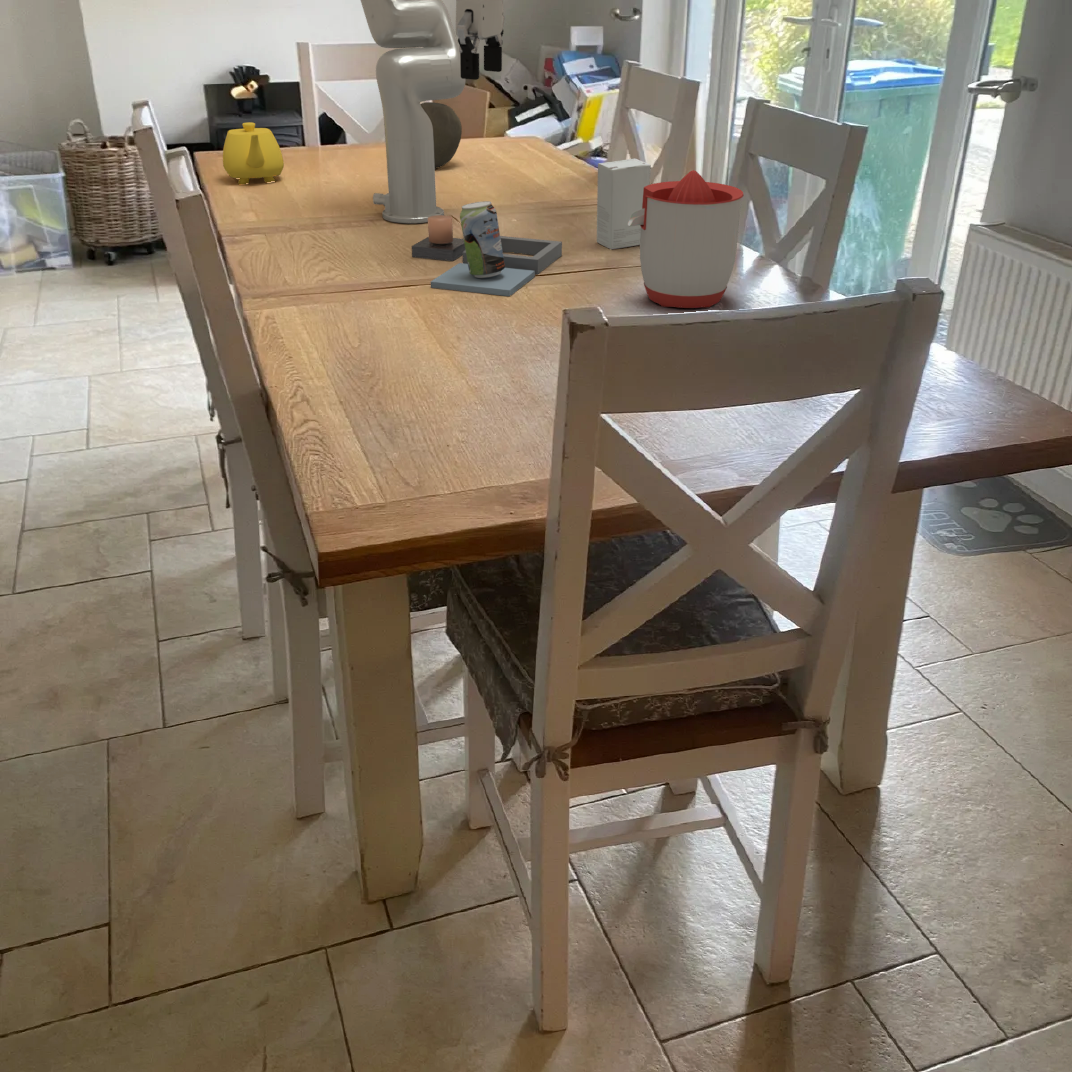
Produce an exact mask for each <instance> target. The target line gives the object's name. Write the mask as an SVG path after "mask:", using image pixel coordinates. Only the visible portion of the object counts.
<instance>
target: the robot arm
mask: <svg viewBox="0 0 1072 1072" xmlns="http://www.w3.org/2000/svg"><path fill="white" fill-rule="evenodd" d="M360 3H361V6H362V10H363V12H364V16H365V20H366V23H367V26H368V29H369V31H370V34H371V37H372V39H373V41H374V42H375V44H376V45H377V46H379V47H380V48H385V49H391V50H389V51H386V52H384V53H383V54H382V55H381V56H379V58H378V60H377V62H376V65H375V76H376V82H377V87H378V93H379V97H380V101H381V108H382V114H383V126H384V138H385V139H384V140H385V141H384V142H385V152H386V153H385V155H386V156H385V157H386V173H387V185H388V186H387V189H388V192H386V193H385V194H384V193H380V192H379V193H376V192H375V193H373V196H372V202H373V204H374V205H378V206H381V205H383V206H384V209H383V210H382V212H381V213H382V214H381V215H382V218H383V220H385V221H387V222H391V223H398V224H425V223H428V217H431V216H437V215H445V210H444V209H443V208H441V207H440V206H437V195H436V193H437V192H436V191H437V189H436V188H437V187H436V171H435V170H436V168H435V165H434V141H433V127H432V123H431V120H430V118H429V117H428V115H427V114H426V113H425V111H424V110H423V108H422V107H421V105H420V104H421V103H423V102H427V101H428V102H429V101H440V100H450V99H454V98H457V97H458V96H460V95H461V94H462V93H463V91H464V89H465V86H466V80H476V81H477V80H479V79H480V53H478V49H479V45H480V42H481V41H482V40H484V43H485V45H483V70H484V71H486V72H496V73H500V72H502V71H503V44H504V40H503V35H504V32H505V31H504V24H505V16H504V0H456V2H455V29H454V26H453V23H452V19H451V17H450V13H449V10H448V9H447V8H448V7H447V6H446V5H445V3H444V1H442V0H360ZM457 38H458V39H457ZM472 41H473V42H472Z"/></svg>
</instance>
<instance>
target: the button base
mask: <svg viewBox="0 0 1072 1072" xmlns="http://www.w3.org/2000/svg"><path fill="white" fill-rule="evenodd" d="M464 251H465V244H464V238H458V237H453V241H452V242H450V243H444V244H436V243H431V242H429V236H427V237H425V238H423V239H422V240H420V241H419V242H418V241H417V242H416V243H414V244H413V245H411V257H412V258H417V259H427V260H436V261H446V262H447V261H448V262H454V261H456V260H458V259H459V258H460V257H463V256H462V252H464Z"/></svg>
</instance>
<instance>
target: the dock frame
mask: <svg viewBox="0 0 1072 1072" xmlns="http://www.w3.org/2000/svg"><path fill="white" fill-rule="evenodd" d="M500 238H501V245H502V251H503V257H504V264H505V268H512V269H522V270H532V271H535V275H539V274H540V273H541V272H542V271H544V270H546V268H548V267H549V266H550V265H552V263H554V262H555V261H557V260H558V259H559V258H560V257H561V256H562V255H563V250H562V248H563V241H561V240H560V241H559V240H549V239H537V238H527V237H518V236H517V237H515V236H506V235H500ZM508 252H514V253H513V254H509V253H508ZM507 253H508V254H507ZM518 253H522V254H521V255H520V254H519V255H518ZM527 255H528V256H527ZM529 255H531V256H529ZM461 257H462V263H464V264H468V261H467V256H466V250H465V251H464V252H462V256H461Z"/></svg>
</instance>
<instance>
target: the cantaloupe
mask: <svg viewBox="0 0 1072 1072" xmlns="http://www.w3.org/2000/svg"><path fill="white" fill-rule="evenodd" d="M420 105H421V107H422V108H423V110H424V111H425V113H426V114H427V115H428V117H429V118H430V120H431V123H432V127H433V141H434V165H435V169H438V168H437V167H439V168H440V167H443V166H444V165H447V164H448V163H449V162H450V161H451V160H452V158H453V157H454V156H455V155H456V152H457V150H458V148H459V147H460V146H459V145H460V143H461V139H462V133H463V131H462V129H463V127H462V122H461V119H460V117H459V116H458V115H457V113H456V112H455V110H454V109H453V108H452V107H450V106H449V105H447V104H446V103H442V102H441V103H440V102H435V101H434V102H432V101H430V102H429V101H428V102H427V101H424V102H421V103H420Z"/></svg>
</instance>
